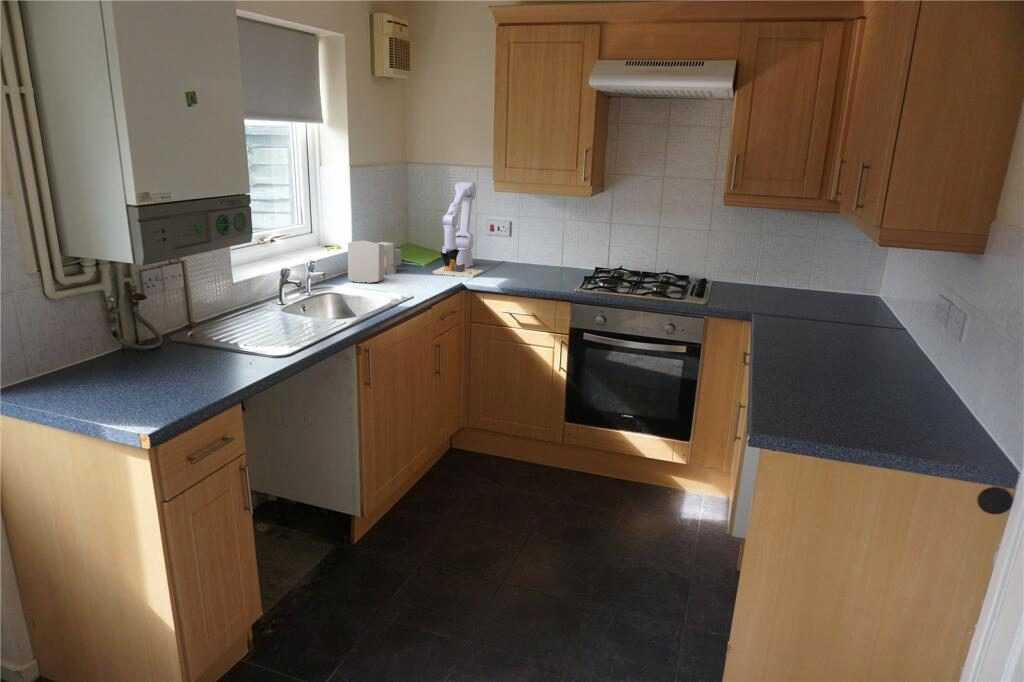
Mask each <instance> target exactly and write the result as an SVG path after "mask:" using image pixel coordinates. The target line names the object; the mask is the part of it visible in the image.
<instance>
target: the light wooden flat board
mask: <svg viewBox="0 0 1024 682" xmlns="http://www.w3.org/2000/svg"><path fill="white" fill-rule="evenodd" d="M482 272H483V273H484V270H483V269H477V268H473V269H472V268H465V270H463V271H455V269H454V270H452V271H449V270H444V266H442V267H439V268H437V269H435V270H432V274H433V273H434V274H433V275H442V274H443V276H452V275H455V276H454V277H461V276H464V277H463V278H471V277H473V278H475V277H477V276H479V275H481V274H483V273H482ZM480 273H481V274H480ZM478 274H479V275H478ZM476 275H477V276H476ZM474 276H475V277H474Z"/></svg>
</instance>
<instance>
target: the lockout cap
mask: <svg viewBox="0 0 1024 682" xmlns="http://www.w3.org/2000/svg"><path fill="white" fill-rule="evenodd" d="M443 264H444V263H443ZM455 265H456V263H455V260H452V259H450V265H449V266H445V264H444V265H443V267H444V270H449V271H452V270H454V269H455Z"/></svg>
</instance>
